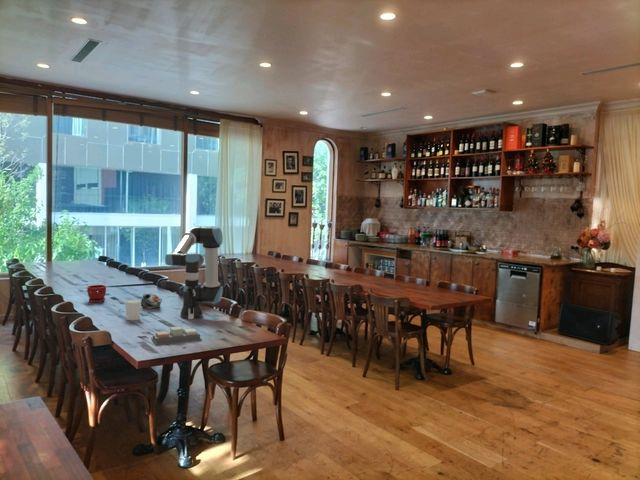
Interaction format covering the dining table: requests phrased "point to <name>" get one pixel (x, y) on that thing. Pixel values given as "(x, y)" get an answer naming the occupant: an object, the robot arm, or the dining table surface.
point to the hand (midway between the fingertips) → (191, 318)
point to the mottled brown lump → (150, 301)
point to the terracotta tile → (162, 334)
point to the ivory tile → (190, 332)
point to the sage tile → (176, 331)
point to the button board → (175, 339)
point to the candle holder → (133, 309)
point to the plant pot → (96, 293)
